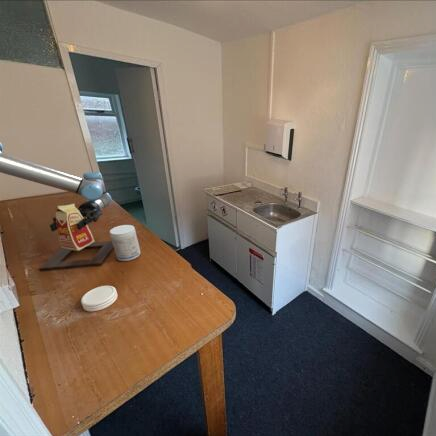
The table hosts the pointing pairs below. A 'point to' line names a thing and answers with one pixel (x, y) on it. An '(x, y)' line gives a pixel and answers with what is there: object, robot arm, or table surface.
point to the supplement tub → (125, 242)
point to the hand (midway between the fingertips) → (65, 227)
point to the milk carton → (72, 228)
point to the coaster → (99, 298)
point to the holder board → (98, 260)
